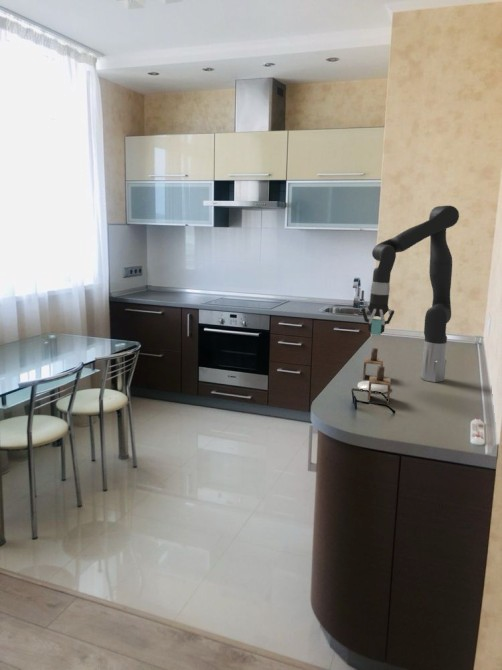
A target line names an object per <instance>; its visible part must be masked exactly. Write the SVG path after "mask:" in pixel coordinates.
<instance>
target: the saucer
mask: <svg viewBox="0 0 502 670" xmlns="http://www.w3.org/2000/svg"><path fill="white" fill-rule="evenodd" d="M358 388H359V389H358ZM357 389H358V390H360V389H363V390H369V380H363V381H359V382H358V383H357ZM387 389H388V385H380V384H371V390H372V391H379V392H381V393H380V394H384V393H386V394H387Z"/></svg>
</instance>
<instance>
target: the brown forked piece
mask: <svg viewBox="0 0 502 670" xmlns="http://www.w3.org/2000/svg"><path fill="white" fill-rule="evenodd" d="M378 351H379V349H378V348H376V347H372V348H371V352H370V353H371V355H370V357H364V359H363V360H364V361H363V373H362V380H363V381H366V380H365V379H366V374H367V373H366V371H367V364H370V365H379V366H383V367H384V358H378Z"/></svg>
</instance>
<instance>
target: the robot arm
mask: <svg viewBox="0 0 502 670" xmlns="http://www.w3.org/2000/svg"><path fill="white" fill-rule="evenodd" d="M428 216H429V217H428V220H426V221H424V222H422V223H420V224H418V225H417V224H416V225H415V226H412V227H409V228H408V229H406V230H404V231H402V232H401V233H399V234H397V235H396V236H394V237H392V238H388V239H387V240H384V241H381V242H380V243H378V244H377V245H375V246H374V247H373V249H372V252H371V254H372V257H373V259H375V261H378V262H379V264H378V266H376V267H375V268H374V269H373V274H372V282H371V285H370V286H371V288H370V296H369V297H370V298H369V305H368V306H366V307H364V306H363V307H362V308H361V313H362V315H363V320H364V322H365V323H368V327H367V329H368V331H369V333H371V326H372V320H373V319H375V318H376V317H378V318H380V319H381V321H382V325H381V335H382V334H383V333H384V332H385V327H386V325H389V324H390V322H391V320H392V318H393V316H394V314H395V310H394V309H391V308H389V299H390V285H391V283H390V282H391V273H392V269H393V267H394V265H395V261H396V259H397V253H402V252H405V251H406V250H408V249H409V248H412V247H413V246H415V245H416V244H418V243H419V242H421V241H423V240H425V239H427V238H428V237H430V238H429V239H430V242H429V244H430V245H429V246H430V248H429V250H430V251H429V252H430V253H429V255H430V256H429V270H428V271H429V272H428V273H429V280H430V284H431V287H432V304H431V305H432V306H431V307H429V308H428V309H427V310H426V312H425V316H424V327H423V328H424V329H423V335H424V343H423V350H422V351H423V353H422V363H421V375H420V378H421V380H423V381H427V382H431V383H438V382H439V383H440V382H444V381H445V378H446V377H445V376H446V367H447V360H446V350H447V343H448V342H447V341H448V336H447V333H446V331H447V324H448V323H449V322H450V320H451V318H452V306H451V305H452V304H451V288H452V277H453V276H452V275H453V257H452V254H451V250H450V248H449V246H448V243H447V229H449V228H452V227H453V226H455V225H456V224H457V223H458V221H459V218H460V213H459V210H458V208H456V207H455V206H453V205H442V206H441V205H439V206H435V207H433V208H432V209H431V210H430V213H429V215H428ZM368 311H369V312H370V314H371V315H370V317H369V318H368ZM387 312H388V315H389V316H388V318H387V320H386V319H385V315H386V314H387Z"/></svg>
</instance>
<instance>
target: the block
mask: <svg viewBox="0 0 502 670" xmlns="http://www.w3.org/2000/svg"><path fill="white" fill-rule="evenodd" d="M381 325H382V321H381V318H373V320H372V326H371V332H370V335H376V336H377V335H379V336H381V335H382V334H381Z"/></svg>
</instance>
